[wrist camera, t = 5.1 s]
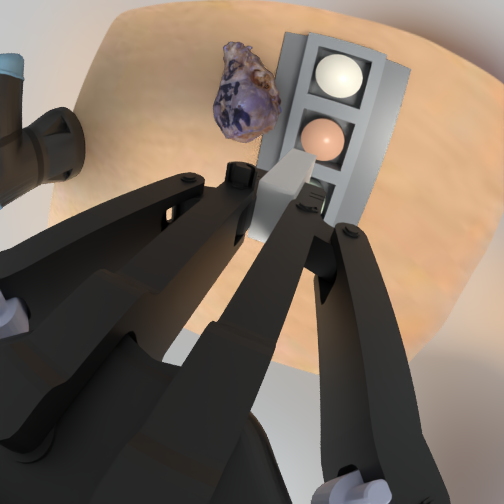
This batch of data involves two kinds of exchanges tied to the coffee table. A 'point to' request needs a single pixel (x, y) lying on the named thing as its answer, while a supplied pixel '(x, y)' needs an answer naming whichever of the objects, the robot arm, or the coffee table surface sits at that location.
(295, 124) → the button panel
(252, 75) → the purple lumpy piece
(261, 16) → the coffee table surface
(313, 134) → the button terracotta
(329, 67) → the button cream
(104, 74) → the coffee table surface
